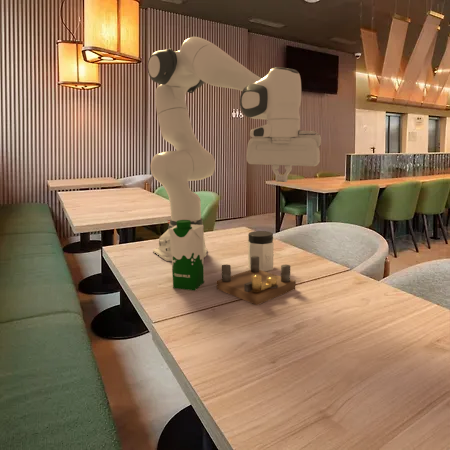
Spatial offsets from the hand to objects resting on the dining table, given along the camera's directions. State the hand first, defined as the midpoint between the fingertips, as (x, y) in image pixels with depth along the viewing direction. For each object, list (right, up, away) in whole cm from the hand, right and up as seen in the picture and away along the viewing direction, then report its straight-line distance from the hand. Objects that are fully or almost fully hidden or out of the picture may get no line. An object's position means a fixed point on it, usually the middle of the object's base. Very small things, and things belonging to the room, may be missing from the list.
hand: (281, 181), depth 108 cm
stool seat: (-7, -31, +4) cm, 32 cm away
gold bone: (-5, -29, -3) cm, 30 cm away
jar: (-4, -27, +22) cm, 35 cm away
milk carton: (-26, -30, +7) cm, 41 cm away
